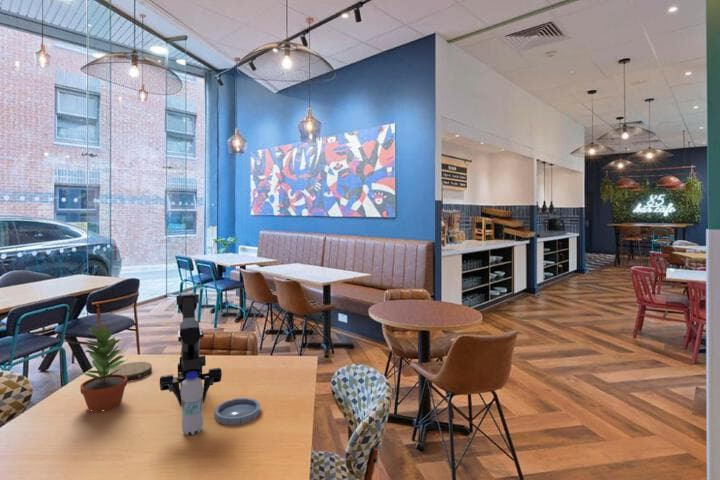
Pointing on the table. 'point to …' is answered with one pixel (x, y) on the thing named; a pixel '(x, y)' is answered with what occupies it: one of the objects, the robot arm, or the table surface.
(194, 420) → the bottle
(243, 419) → the bowl
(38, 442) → the table surface
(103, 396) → the potted plant
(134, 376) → the wood slice
